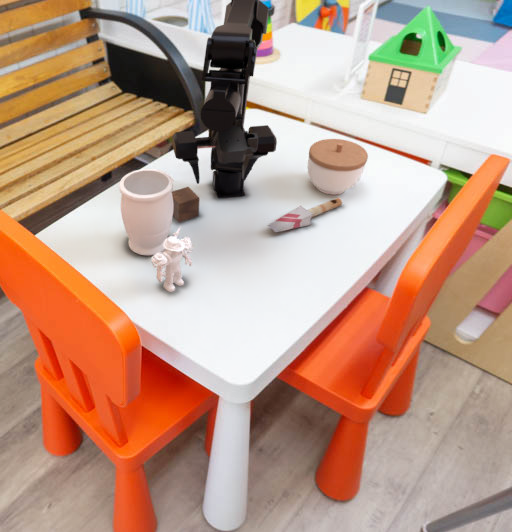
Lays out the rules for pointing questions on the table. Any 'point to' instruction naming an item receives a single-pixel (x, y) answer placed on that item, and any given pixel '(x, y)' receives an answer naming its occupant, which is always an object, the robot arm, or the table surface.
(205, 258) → the table surface
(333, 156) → the lidded bowl
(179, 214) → the toy block
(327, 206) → the garden trowel
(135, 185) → the jar
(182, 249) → the pink action figure
